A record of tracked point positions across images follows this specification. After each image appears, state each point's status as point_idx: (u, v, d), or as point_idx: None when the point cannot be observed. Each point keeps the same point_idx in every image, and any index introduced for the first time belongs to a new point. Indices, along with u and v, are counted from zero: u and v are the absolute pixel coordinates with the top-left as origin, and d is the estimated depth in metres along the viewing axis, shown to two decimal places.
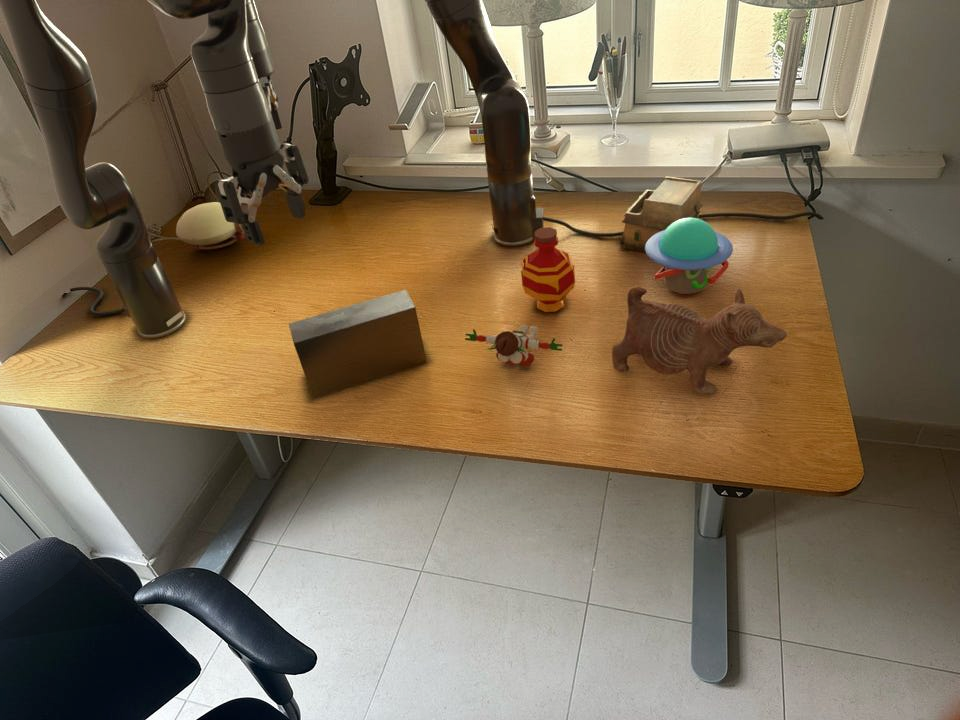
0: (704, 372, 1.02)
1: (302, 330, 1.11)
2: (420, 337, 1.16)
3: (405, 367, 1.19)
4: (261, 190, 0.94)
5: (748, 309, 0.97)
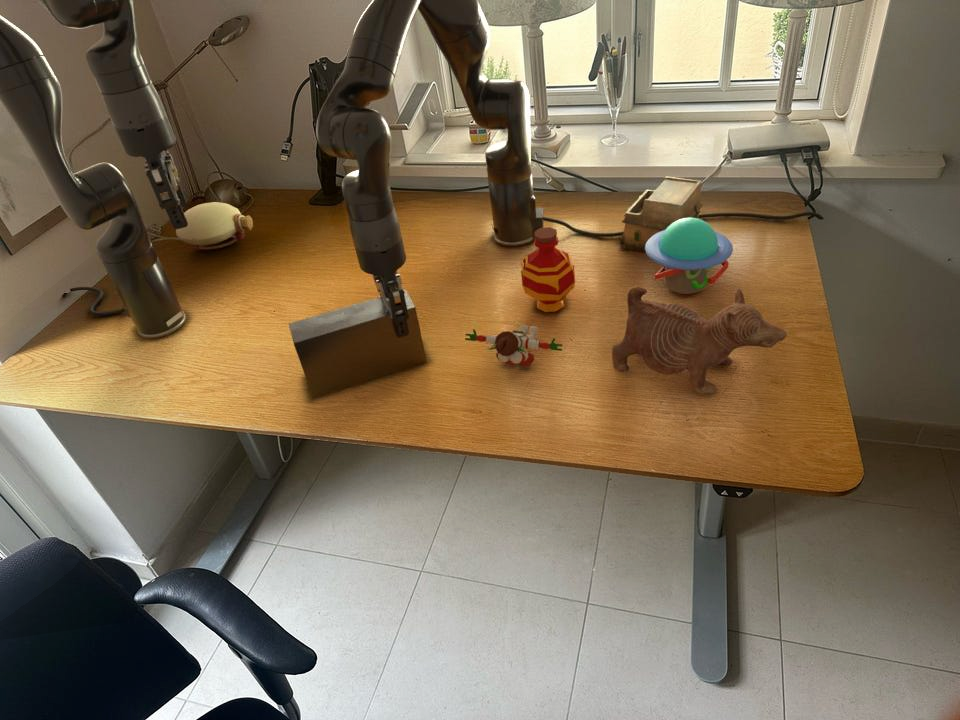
0: (704, 372, 1.02)
1: (302, 330, 1.11)
2: (420, 337, 1.16)
3: (405, 367, 1.19)
4: (174, 176, 1.06)
5: (748, 309, 0.97)
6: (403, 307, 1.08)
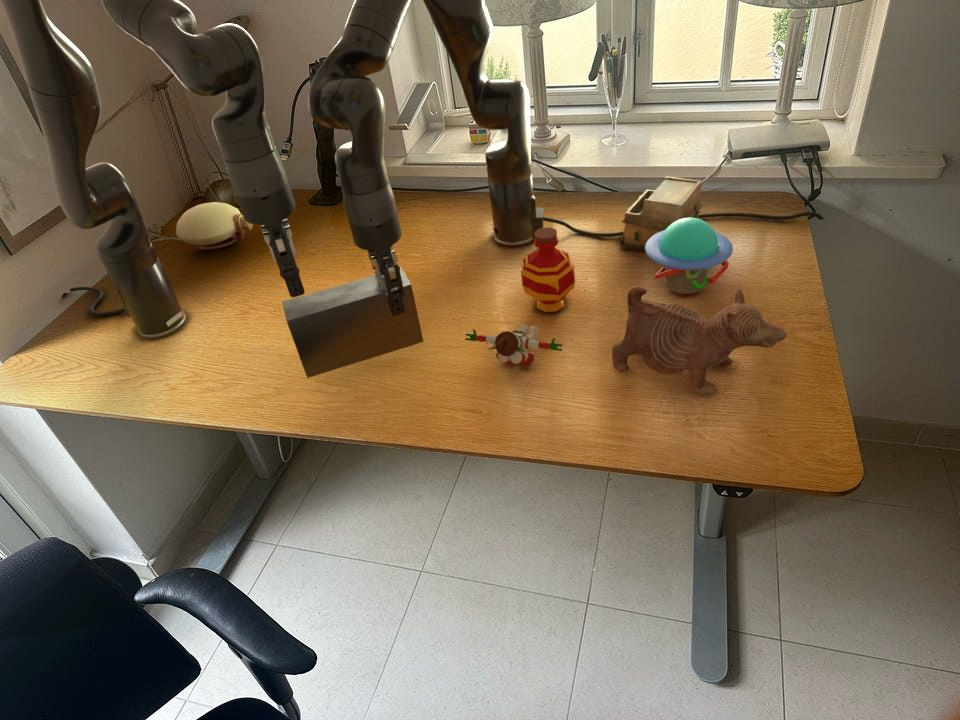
0: (704, 372, 1.02)
1: (296, 308, 1.08)
2: (416, 316, 1.14)
3: (401, 347, 1.16)
4: None
5: (748, 309, 0.97)
6: (399, 283, 1.05)
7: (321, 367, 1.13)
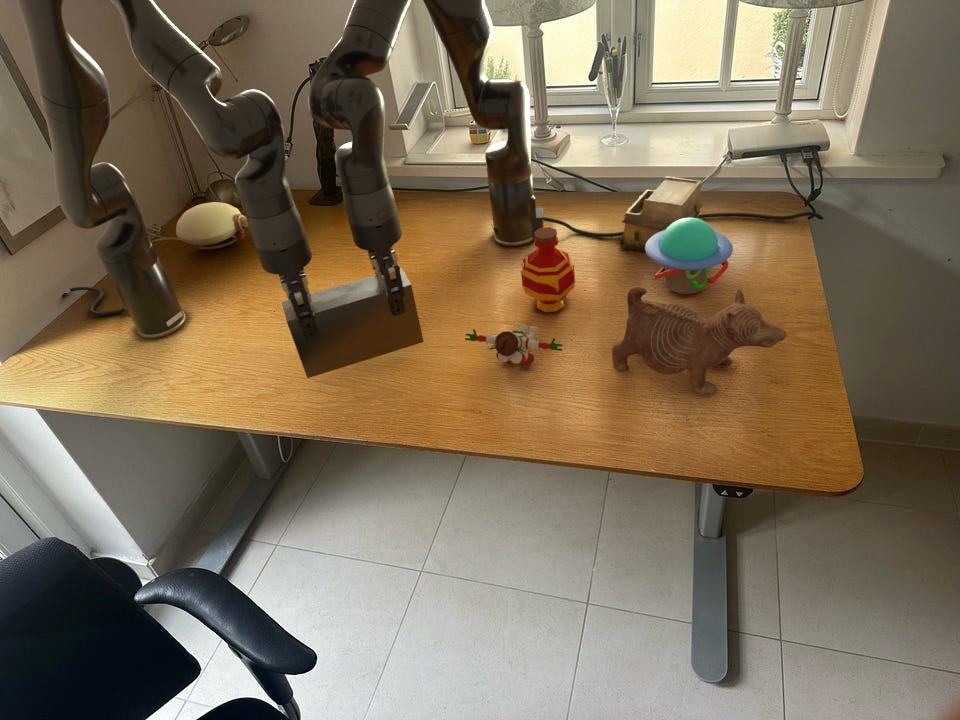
0: (704, 372, 1.02)
1: None
2: (416, 316, 1.14)
3: (401, 347, 1.16)
4: None
5: (748, 309, 0.97)
6: (399, 284, 1.05)
7: (321, 367, 1.13)
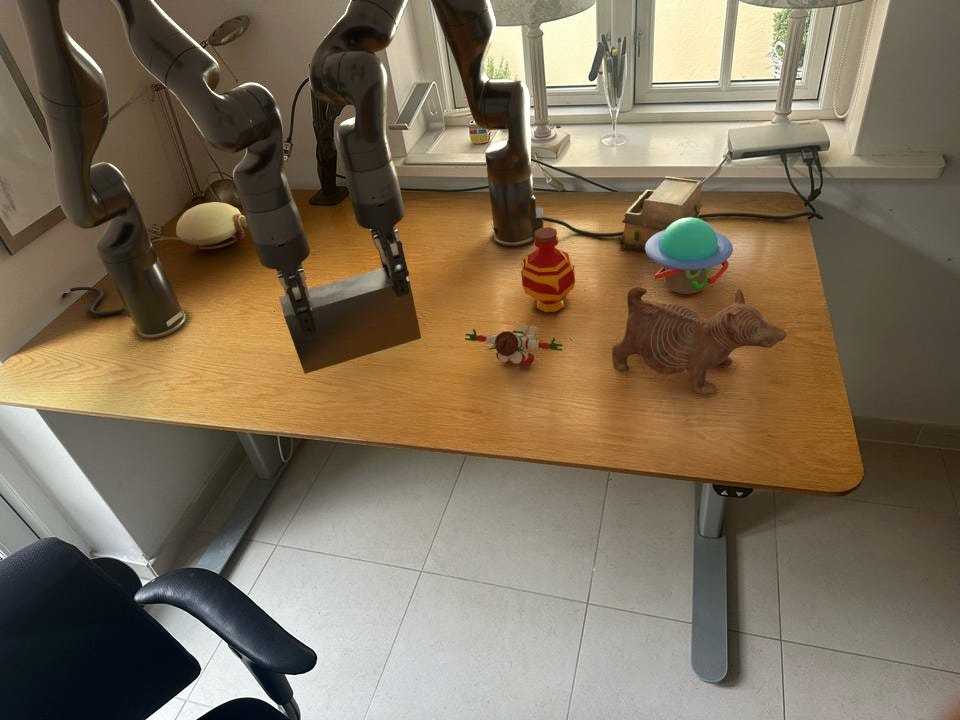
0: (704, 372, 1.02)
1: None
2: (414, 312, 1.13)
3: (399, 343, 1.16)
4: None
5: (748, 309, 0.97)
6: (402, 261, 1.03)
7: (318, 363, 1.12)
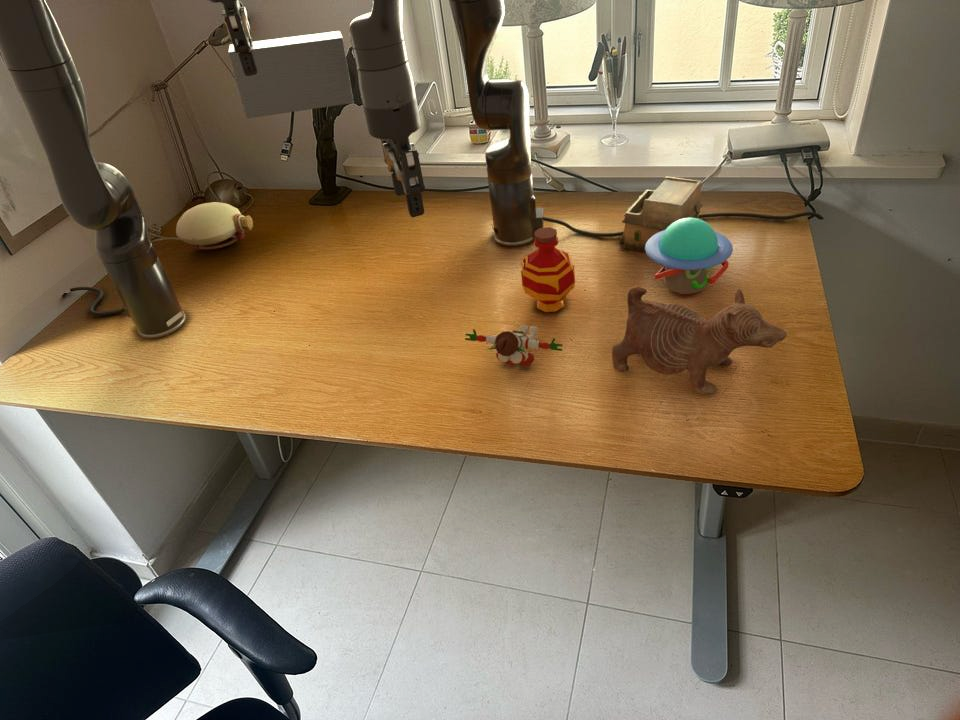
0: (704, 372, 1.02)
1: None
2: (347, 73, 1.28)
3: (333, 104, 1.30)
4: None
5: (748, 309, 0.97)
6: (418, 173, 0.96)
7: (259, 109, 1.28)
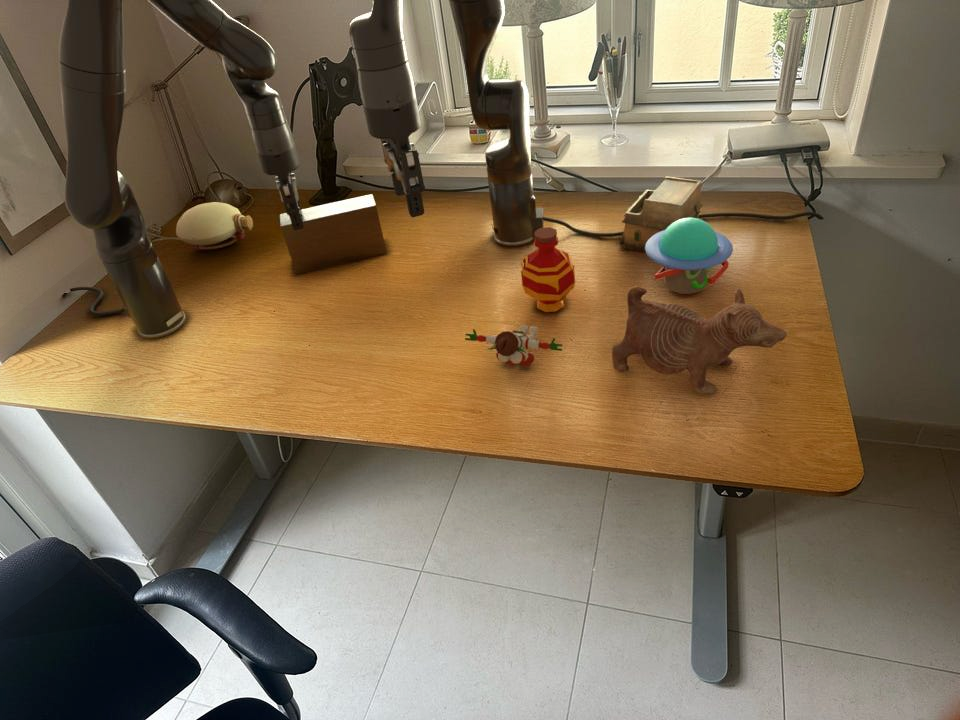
0: (704, 372, 1.02)
1: (289, 218, 1.45)
2: (381, 231, 1.49)
3: (369, 256, 1.51)
4: (296, 189, 1.40)
5: (748, 309, 0.97)
6: (418, 173, 0.96)
7: (307, 266, 1.49)
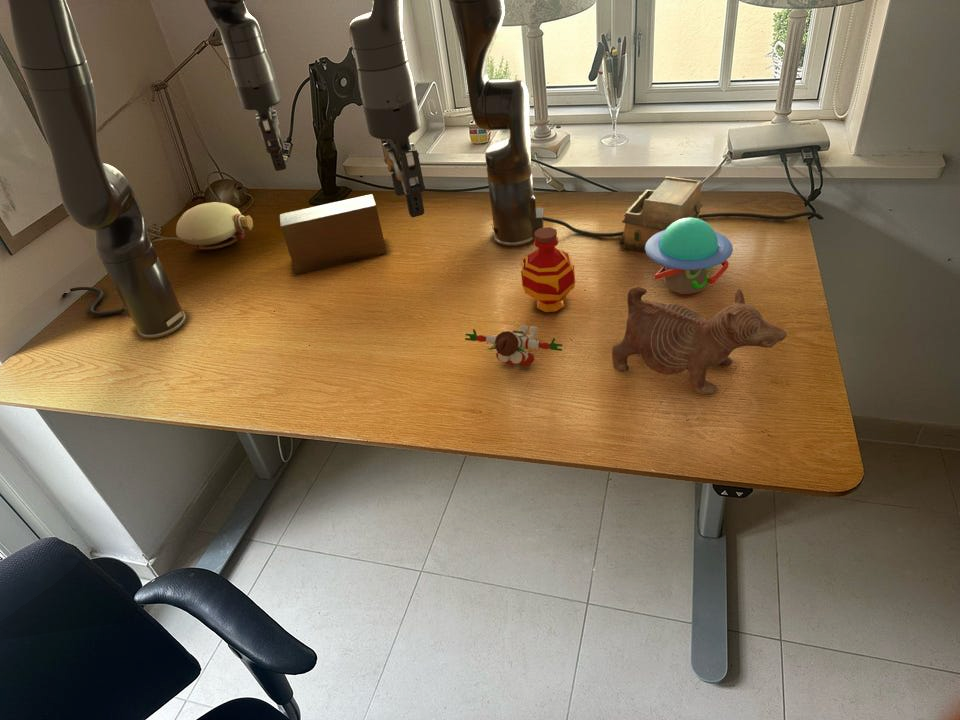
0: (704, 372, 1.02)
1: (289, 218, 1.45)
2: (381, 231, 1.49)
3: (369, 256, 1.51)
4: (278, 127, 1.32)
5: (748, 309, 0.97)
6: (418, 173, 0.96)
7: (307, 266, 1.49)
